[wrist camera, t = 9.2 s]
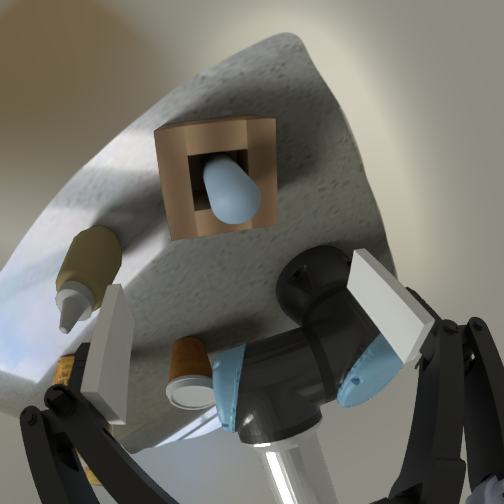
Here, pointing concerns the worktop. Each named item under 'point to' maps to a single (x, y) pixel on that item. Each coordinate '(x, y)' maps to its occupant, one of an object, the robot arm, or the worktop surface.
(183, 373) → the disposable coffee cup
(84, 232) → the squeeze bottle
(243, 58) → the worktop surface
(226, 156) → the dowel
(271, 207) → the socket block
